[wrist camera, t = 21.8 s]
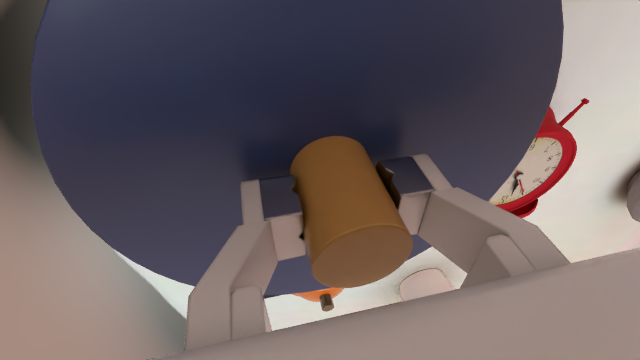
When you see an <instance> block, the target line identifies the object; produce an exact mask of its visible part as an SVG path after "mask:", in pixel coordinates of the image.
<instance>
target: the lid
mask: <svg viewBox="0 0 640 360" xmlns="http://www.w3.org/2000/svg"><path fill="white" fill-rule="evenodd" d="M563 30H564V25H563V13H562V1H561V0H48V1H47V4H46V7H45V10H44V13H43V16H42V19H41V22H40V25H39V28H38V31H37V34H36V37H35V45H34V53H33V60H32V68H31V76H30V85H31V101H32V116H33V122H34V125H35V129H36V133H37V137H38V141H39V145H40V149H41V153H42V155H43V157H44V160H45V162H46V164H47V166H48V169H49V171H50V173H51V175H52V177H53V180H54V182H55V184H56V185H57V187H58V188H59V190H60V191H61V193H62V194H63V196H64V197H65V199H66V200H67V202H68V203H69V205H70V206H71V208H72V209H73V210H74V211H75V213H76V214H77V215H78V216H79V217H80V218H81V219H82V220H83V221H84V222H85V224H86V225H87V226H88V227H89V228H90V229H91V230H92V231H93V232H94V233H96V234H97V235H98V236H99V237H101V239H103V240H104V241H105V242H106V243H107V244H108V245H110V246H111V247H112V248H113V249H115V250H116V251H118V252H120V253H121V254H123V255H124V256H126V257H127V258H129V259H130V260H132V261H133V262H135V263H137V264H139V265H141V266H143V267H145V268H147V269H149V270H151V271H153V272H155V273H157V274H160V275H162V276H165V277H167V278H170V279H173V280H175V281H178V282H181V283H185V284H188V285H192V286H196V285H197V284H198V282H199V281H200V279H201V278H202V276H203V275H204V273H205V272H206V271H207V269H208V268H209V266H210V265H211V263H212V262H213V261H214V259H215V258H216V256H217V255H218V253H219V252H220V250H221V249H222V248H223V246H224V245H225V243H226V242H227V240H228V239H229V238H230V236H231V235H232V233H233V232H234V230H235V229H236V227H237V226H239V225H243V217H242V201H241V182H243V181H250V180H259V179H263V178H270V177H278V176H285V175H293V176H294V179H295V183H296V193H297V194H298V195H299V200H300V204H301V208H302V212H303V222H304V231H303V232H302V233H303V237H304V242H305V250H306V255H303V256H299V257H294V258H290V259H285V260H281V261H277V262H278V263H277V266H276V268H275V270H274V272H273V275H272V277H271V279H270V282H269V284H268V286H267V288H266V291H265V293H264V295H284V294H295V293H304V292H311V291H317V290H322V289H328V288H332V287H334V288H352V287H358V286H363V285H366V284H370V283H372V282H375V281H378V280H380V279H382V278H384V277H386V276H388V275H389V274H391V273H392V272H394V271H395V270H396V269H398V268H399V267H400V266H401V265H402V264H403V263H404V262H405V261H407V260H409V259H410V258H412V257H414V256H416V255H418V254H420V253H421V252H423V251H425V250H427V249H428V248H430V247H431V245H430V244H429V243H427V242H426V241H425V240H424V239H422V238H421V237H420V236H418V234H414V235H411V234H410V232H409V230H408V228H407V227H406V225H405V223H404V221H403V219H402V217H401V215H400V213H399V212H398V210H397V208H396V206H395V204H394V202H393V200H392V198H391V197H390V195H389V193H388V191H387V189H386V187H385V185H384V183H383V182H382V180H381V178H380V176H379V174H378V172H377V170H376V164H377V162H378V161H382V160H388V159H394V158H400V157H407V156H411V155H417V154H423V153H425V154H427V155H428V156H429V157H430V158H431V160H432V161H433V162H434V164H435V165H436V166H437V167H438V169H439V170H440V171H441V173H442V174H443V175H444V177H445V178H446V179H447V181H448V182H449V183H450V185H451V186H452V187H453V188H456V187H458V188H460V189H462V190H464V191H466V192H469V193H471V194H473V195H475V196H477V197H479V198H481V199H483V200H485V201H487V202H488V201H489V200H490V199H491V198H492V197H493V196H494V194H495V193H496V192H497V191H498V190H499V189H500V187H501V186H502V185H503V184H504V183H505V182H506V180H507V179H508V178H509V177H510V175H511V174H512V173H513V171H514V170H515V168H516V167H517V166H518V164H519V163H520V162H521V160H522V159H523V157H524V156H525V154H526V152H527V150H528V149H529V147H530V145H531V144H532V142H533V140H534V139H535V137H536V135H537V133H538V131H539V128H540V126H541V124H542V122H543V120H544V118H545V116H546V113H547V111H548V108H549V105H550V102H551V99H552V96H553V93H554V90H555V87H556V83H557V78H558V73H559V68H560V63H561V58H562V45H563Z"/></svg>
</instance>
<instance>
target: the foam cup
mask: <svg viewBox="0 0 640 360" xmlns="http://www.w3.org/2000/svg"><path fill="white" fill-rule="evenodd" d="M399 290H400V295H401V298H402V302H403V301H407V300H411V299H416V298H420V297H425V296H429V295H433V294H438V293H442V292H447V291H451V290H455V288H454V287H453V286H452V284H451V283H450V282H449V280H448V279H447V278H446V276H445V275H444V274H443V272H442V271H440V270H438V269H427V270H423V271H419V272H417V273H415V274H412V275H410V276H409V277H407V278H406V279H405V280H404V281H402V283H401V284H400V286H399Z"/></svg>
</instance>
